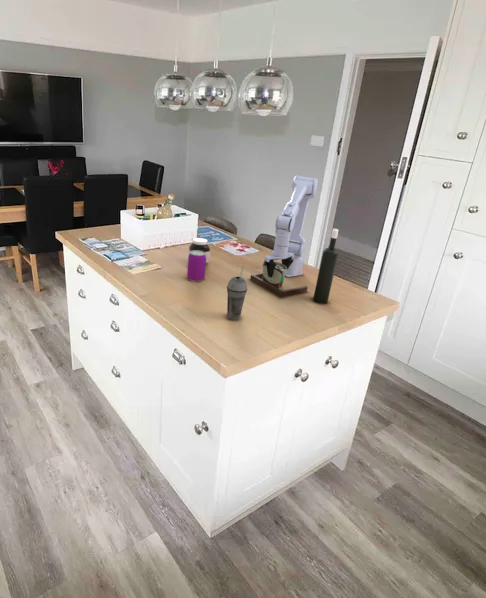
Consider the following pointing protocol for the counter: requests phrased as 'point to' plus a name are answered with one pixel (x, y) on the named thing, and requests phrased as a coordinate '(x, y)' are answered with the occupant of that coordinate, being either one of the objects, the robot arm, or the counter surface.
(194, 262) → the beverage can
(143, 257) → the counter surface
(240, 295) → the beverage cup
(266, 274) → the food container
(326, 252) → the wine bottle
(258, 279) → the brown frame
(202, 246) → the spread jar
